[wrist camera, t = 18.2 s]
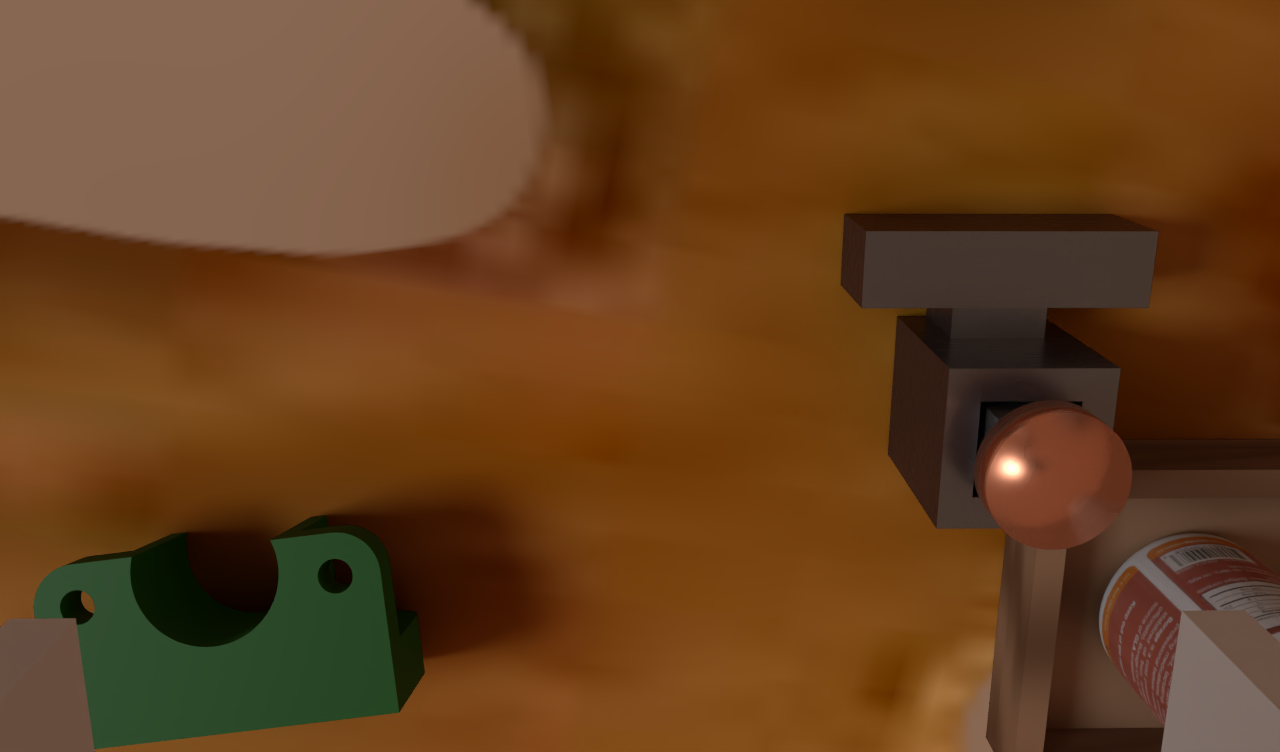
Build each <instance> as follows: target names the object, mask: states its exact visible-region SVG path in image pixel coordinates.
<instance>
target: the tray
mask: <svg viewBox="0 0 1280 752" xmlns="http://www.w3.org/2000/svg"><path fill="white" fill-rule="evenodd" d="M1122 441H1123V443H1124V445H1125V447H1126V448H1127V451H1128V454H1129V456H1130V460H1131V465H1132V484H1131V489H1130V493H1129V496H1128V499H1127V501H1126V503H1125V505H1124V507H1123V509H1122V511H1121V512H1120V514H1119V515H1118V517H1117V518H1116V519H1115V520H1114V521H1113V523H1112V524H1111V525H1110V526H1109V527H1108V528H1106V529H1105V530H1104V531H1103V532H1102V533H1100V534H1099V535H1098V536H1096V537H1094V538H1093V539H1091V540H1089V541H1087V542H1085V543H1083V544H1080V545H1077V546H1074V547H1071V548H1065V549H1058V550H1045V549H1038V548H1033V547H1030V546H1027V545H1024V544H1022V543H1020V542H1018V541H1016V540H1015V539H1013V538H1012V537H1010V536H1009V535H1008V534H1007V533H1006V541H1005V551H1004V561H1003V571H1002V581H1001V591H1000V602H999V612H998V622H997V632H996V642H995V652H994V662H993V672H992V682H991V692H990V702H989V712H988V723H987V732H986V738H987V740H988V742H989V744H990V746H991V748H992V750H993V751H994V752H1161V748H1162V741H1163V735H1164V728H1165V727H1164V726H1163V725H1162V724H1161V722H1160V721H1159V720H1158V719H1157V718H1156V716H1155V715H1154V714H1153V712H1152V711H1151V710H1150V709H1149V707H1148V706H1147V705H1146V704H1145V703H1144V701H1143V700H1142V699H1141V698H1140V697H1139V695H1138V694H1137V693H1136V692H1135V691H1134V689H1133V688H1132V687H1131V686H1130V684H1129V683H1128V682H1127V681H1126V680H1125V678H1124V677H1123V676H1122V675H1121V674H1120V672H1119V671H1118V670H1117V668H1116V667H1115V665H1114V664H1113V663H1112V661H1111V660H1110V658H1109V656H1108V655H1107V653H1106V651H1105V649H1104V646H1103V643H1102V640H1101V636H1100V630H1099V612H1100V607H1101V602H1102V599H1103V596H1104V593H1105V591H1106V589H1107V587H1108V585H1109V583H1110V581H1111V579H1112V578H1113V576H1114V575H1115V573H1116V572H1117V570H1118V569H1119V568H1120V567H1121V566H1122V565H1123V563H1124V562H1125V561H1126V560H1127V559H1129V558H1130V557H1131V556H1132V555H1133V554H1135V553H1136V552H1137V551H1139V550H1140V549H1142V548H1143V547H1145V546H1146V545H1148V544H1150V543H1152V542H1154V541H1156V540H1159V539H1162V538H1165V537H1169V536H1173V535H1178V534H1186V533H1201V534H1209V535H1214V536H1218V537H1221V538H1224V539H1227V540H1229V541H1231V542H1233V543H1235V544H1237V545H1239V546H1241V547H1242V548H1244V549H1245V550H1246V551H1248V552H1249V553H1251V554H1252V555H1253V556H1255V557H1256V558H1257V559H1258V560H1260V561H1261V562H1262V563H1263V564H1264V565H1266V566H1267V567H1268V568H1269V569H1271V570H1272V571H1273V572H1274V573H1276V574H1277V575H1278V576H1280V439H1246V440H1122Z"/></svg>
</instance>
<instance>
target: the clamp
mask: <svg viewBox="0 0 1280 752" xmlns="http://www.w3.org/2000/svg"><path fill="white" fill-rule="evenodd" d="M186 535H187V532H186V533H178V534H171V535H169V536H166V537H164V538H162V539H159V540H157V541H155V542H153V543H150V544H148V545H146V546H143V547H141V548H139V549H137V550H134V551H128V552H120V553H112V554H104V555H95V556H89V557H85V558H82V559H79V560H77V561H74V562H72V563H69V564H67V565H65V566H62V567H60V568H57V569H56V570H54V571H52V572H51V573H50V574H48V575H47V576H46V577H45V578H44V579H43V581H42V582H41V584H40V585H39V587H38V589H37V592H36V595H35V599H34V615H35V619H54V618H76V625H77V632H78V639H79V646H80V653H81V660H82V667H83V673H84V680H85V687H86V694H87V701H88V708H89V715H90V722H91V729H92V736H93V743H94V749H100V748H108V747H116V746H125V745H133V744H141V743H150V742H158V741H166V740H175V739H183V738H191V737H200V736H208V735H216V734H225V733H233V732H241V731H250V730H258V729H266V728H275V727H283V726H291V725H300V724H308V723H316V722H325V721H333V720H341V719H350V718H358V717H366V716H375V715H383V714H391V713H399V712H400V711H401V709H402V707H403V706H404V704H405V703H406V701H407V700H408V698H409V697H410V695H411V694H412V692H413V690H414V689H415V687H416V686H417V684H418V683H419V681H420V680H421V678H422V676H423V675H424V673H425V670H424V663H423V655H422V648H421V640H420V633H419V625H418V618H417V613H416V612H414V611H407V610H398V611H396V605H395V597H394V590H393V582H392V575H391V567H390V560H389V556H388V553H387V550H386V548H385V547H384V545H383V543H382V542H381V541H380V540H379V538H378V537H376V536H375V535H374V534H373V533H372V532H370V531H368V530H366V529H364V528H361V527H358V526H353V525H341V526H333V527H328V522H327V517H326V515H325V516H317V517H310V518H309V519H307V520H305V521H303V522H301V523H300V524H298V525H296V526H294V527H293V528H291V529H289V530H287V531H286V532H284V533H282V534H280V535H278V536H277V537H275V538H273V539H271V540H270V541H271V543H272V545H273V547H274V550H275V553H276V557H277V562H278V570H279V579H278V587H277V592H276V596H275V599H274V601H273V604H272V606H271V608H270V610H269V611H263V612H244V611H239V610H235V609H232V608H229V607H227V606H225V605H222V604H221V603H219V602H217V601H216V600H214V599H213V598H212V597H211V596H209V595H208V594H207V593H206V592H205V591H204V590H203V588H202V587H201V586H200V585H199V583H198V582H197V580H196V579H195V577H194V575H193V573H192V570H191V568H190V565H189V561H188V557H187V547H186V545H187V544H186ZM333 559H340V560H342V561H344V562H346V563H347V564H348V565H349V566H350V568H351V570H352V574H353V579H352V583H351V584H342V583H339V582H338V581H336V579H335V571H334V564H333ZM82 591H84V592H86V593H87V594H89V595H90V596H91V598H92V599H93V601H94V605H95V611H94V614H93V613H91V612H89V611H87V610H86V609H85V608H84V606H83V604H82V602H81V593H82Z"/></svg>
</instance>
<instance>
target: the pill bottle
mask: <svg viewBox="0 0 1280 752" xmlns="http://www.w3.org/2000/svg"><path fill="white" fill-rule="evenodd" d="M1207 610H1245V611H1246V612H1247V613H1248V614H1249V615H1251V616H1252V617H1253V618H1254V619H1255V620H1256V621H1257V622H1258V623H1259V624H1260V625H1261V626H1263V627H1264V628H1265V629H1266V630H1267V631H1268V632H1269V633H1270V634H1271V635H1272V636H1273V637H1275V638H1276V639H1277V640H1278V641H1279V642H1280V576H1278V575H1277V574H1276V573H1274V572H1273V571H1272V570H1271V569H1269V568H1268V567H1267V566H1266V565H1264V564H1263V563H1262V562H1261V561H1260V560H1258V559H1257V558H1256V557H1255V556H1253V555H1252V554H1251V553H1249V552H1248V551H1246V550H1245V549H1244V548H1242V547H1241V546H1239V545H1237V544H1235V543H1233V542H1231V541H1229V540H1227V539H1224V538H1221V537H1218V536H1214V535H1209V534H1201V533H1186V534H1178V535H1173V536H1169V537H1165V538H1162V539H1159V540H1156V541H1154V542H1152V543H1150V544H1148V545H1146V546H1145V547H1143V548H1142V549H1140V550H1139V551H1137V552H1136V553H1135V554H1133V555H1132V556H1131V557H1130V558H1129V559H1127V560H1126V561H1125V562H1124V563H1123V565H1122V566H1121V567H1120V568H1119V569H1118V570H1117V572H1116V573H1115V575H1114V576H1113V578H1112V579H1111V581H1110V583H1109V585H1108V587H1107V589H1106V591H1105V593H1104V596H1103V599H1102V602H1101V607H1100V612H1099V630H1100V636H1101V640H1102V643H1103V646H1104V649H1105V651H1106V653H1107V655H1108V656H1109V658H1110V660H1111V661H1112V663H1113V664H1114V665H1115V667H1116V668H1117V670H1118V671H1119V672H1120V674H1121V675H1122V676H1123V677H1124V678H1125V680H1126V681H1127V682H1128V683H1129V684H1130V686H1131V687H1132V688H1133V689H1134V691H1135V692H1136V693H1137V694H1138V695H1139V697H1140V698H1141V699H1142V700H1143V701H1144V703H1145V704H1146V705H1147V706H1148V707H1149V709H1150V710H1151V711H1152V712H1153V714H1154V715H1155V716H1156V718H1157V719H1158V720H1159V721H1160V722H1161V724H1162V725H1163V726H1164V727H1165V721H1166V714H1167V708H1168V701H1169V694H1170V687H1171V681H1172V674H1173V667H1174V660H1175V653H1176V647H1177V640H1178V633H1179V626H1180V620H1181V613H1182V611H1207Z"/></svg>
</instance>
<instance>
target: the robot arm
mask: <svg viewBox="0 0 1280 752" xmlns="http://www.w3.org/2000/svg"><path fill="white" fill-rule="evenodd" d="M0 752H95V750H94V743H93V736H92V729H91V722H90V715H89V708H88V701H87V694H86V687H85V680H84V673H83V667H82V660H81V653H80V646H79V639H78V632H77V625H76V618H54V619H9V620H8V621H7V622H6V623H5V624H4V625H3V626H2V627H1V628H0ZM1161 752H1280V642H1279V641H1278V640H1277V639H1276V638H1275V637H1273V636H1272V635H1271V634H1270V633H1269V632H1268V631H1267V630H1266V629H1265V628H1264V627H1263V626H1261V625H1260V624H1259V623H1258V622H1257V621H1256V620H1255V619H1254V618H1253V617H1252V616H1251V615H1249V614H1248V613H1247V612H1246V611H1245V610H1207V611H1182V613H1181V620H1180V626H1179V633H1178V640H1177V647H1176V653H1175V660H1174V667H1173V674H1172V681H1171V687H1170V694H1169V701H1168V708H1167V714H1166V721H1165V728H1164V735H1163V741H1162V748H1161Z"/></svg>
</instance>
